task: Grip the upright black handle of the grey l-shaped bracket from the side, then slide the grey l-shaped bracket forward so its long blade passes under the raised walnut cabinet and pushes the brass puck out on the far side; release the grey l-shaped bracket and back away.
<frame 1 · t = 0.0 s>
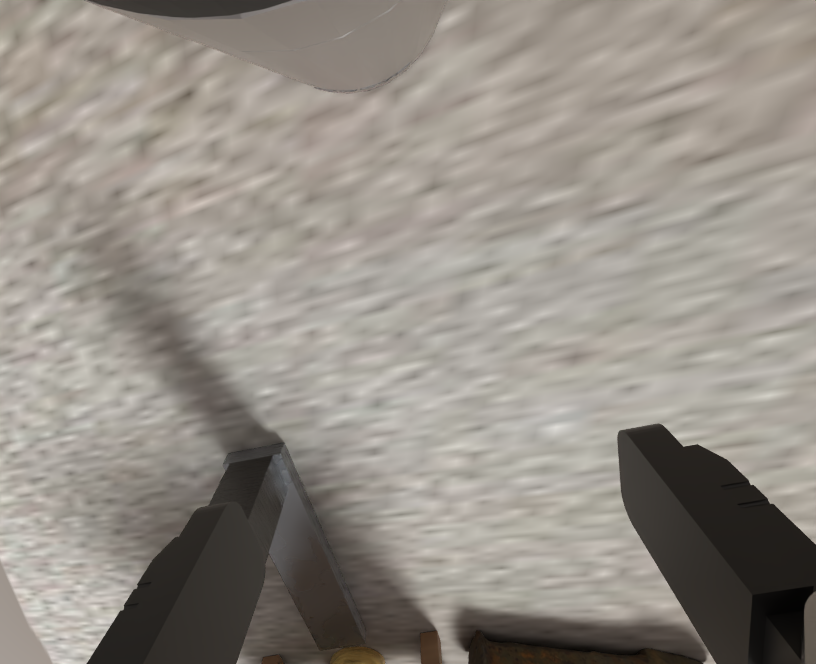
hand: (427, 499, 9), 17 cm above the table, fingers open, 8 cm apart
grey l-shaped bracket: (264, 463, 31), on the table
brass puck: (357, 661, 41), on the table
hand tool: (589, 643, 41), on the table
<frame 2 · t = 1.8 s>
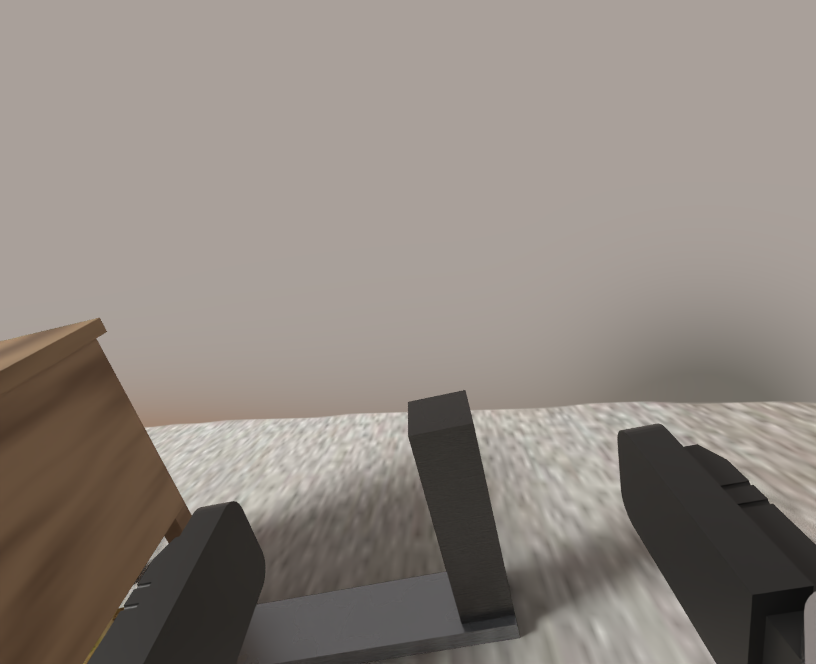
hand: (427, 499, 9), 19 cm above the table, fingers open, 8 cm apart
grey l-shaped bracket: (487, 608, 27), on the table
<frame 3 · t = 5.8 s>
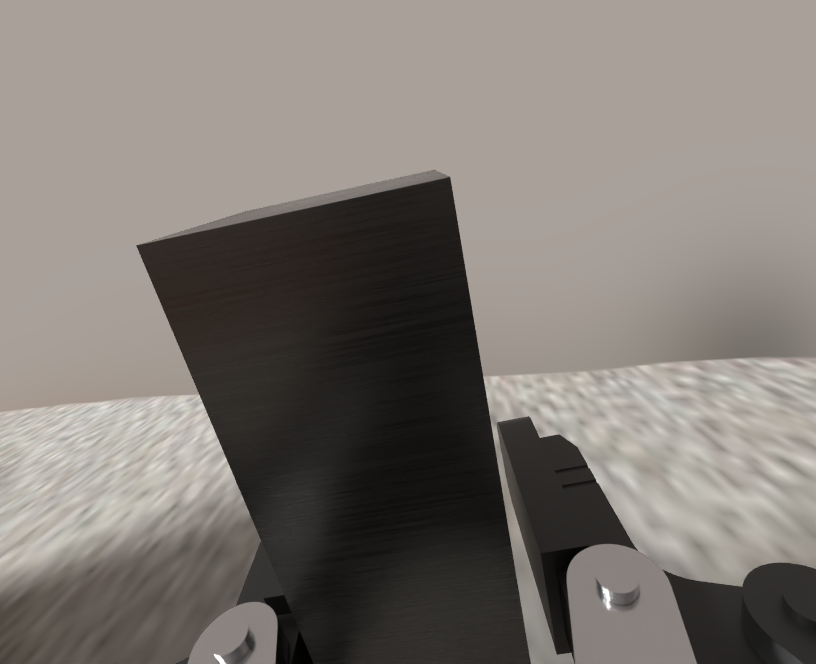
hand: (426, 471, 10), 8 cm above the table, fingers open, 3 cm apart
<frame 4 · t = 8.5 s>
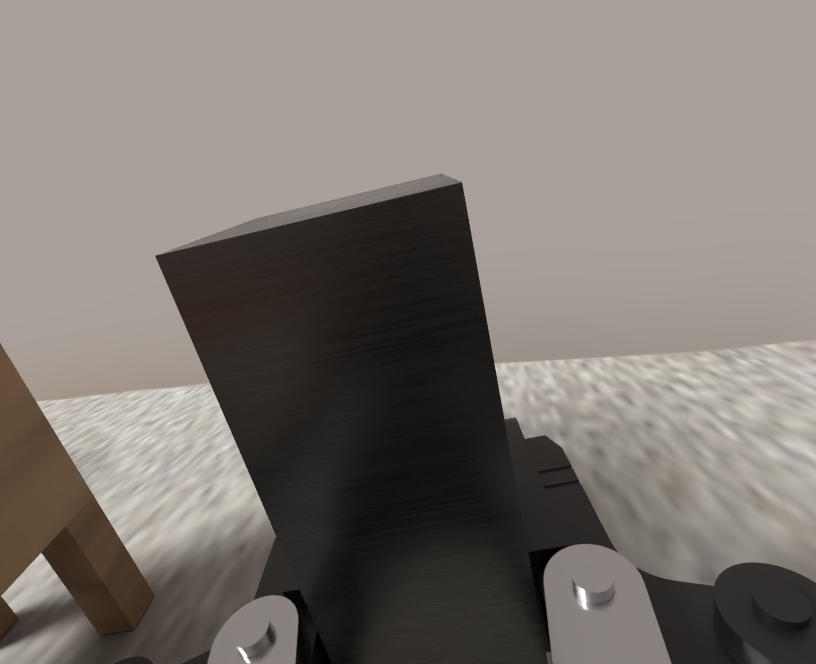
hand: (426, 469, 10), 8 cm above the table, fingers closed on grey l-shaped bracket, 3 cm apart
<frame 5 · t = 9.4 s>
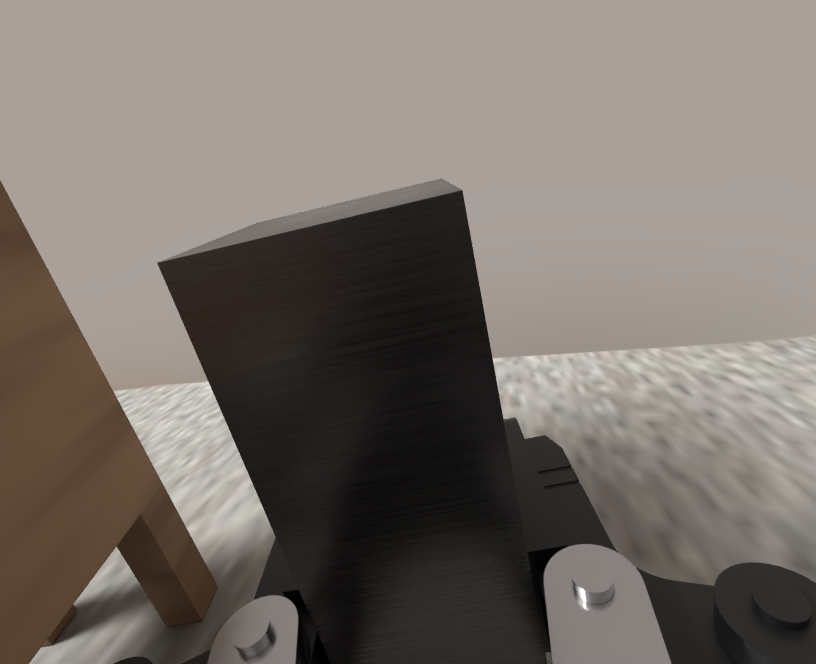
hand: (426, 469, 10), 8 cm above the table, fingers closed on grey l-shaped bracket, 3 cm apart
when the fingers open (8 cm above the table, at t = 10.5 s): grey l-shaped bracket stays where it is, on the table.
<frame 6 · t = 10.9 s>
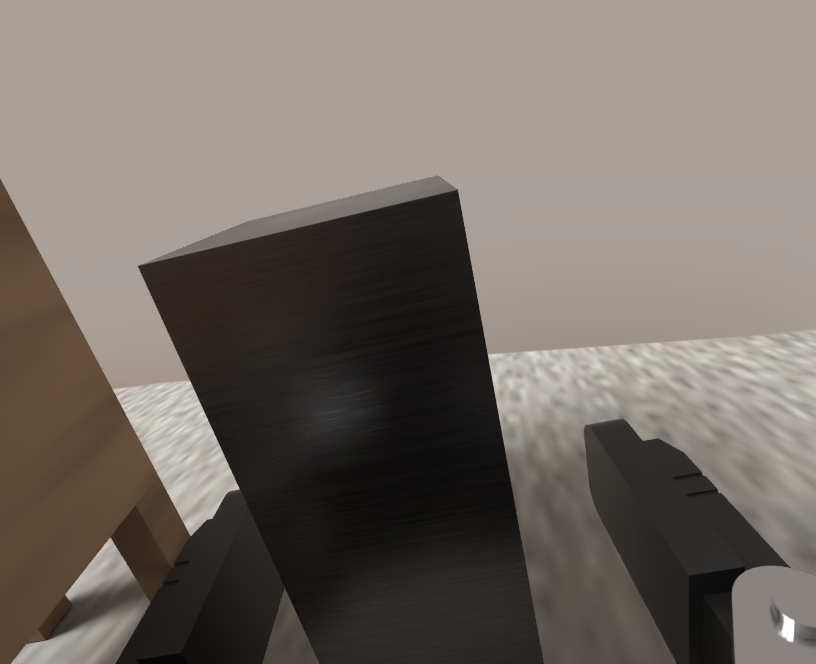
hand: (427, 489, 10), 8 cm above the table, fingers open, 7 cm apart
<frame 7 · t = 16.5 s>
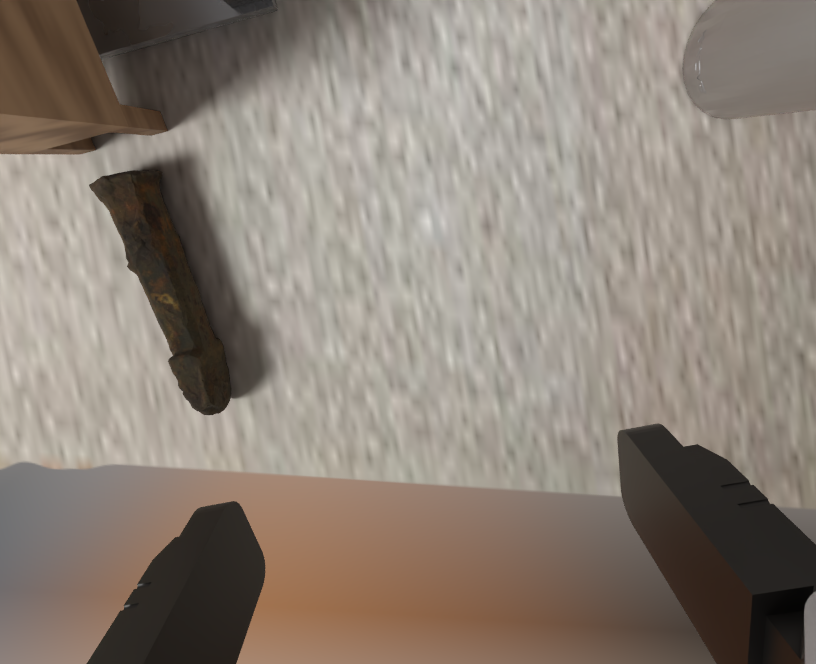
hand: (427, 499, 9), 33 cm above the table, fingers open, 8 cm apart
walnut cabinet: (76, 33, 35), on the table
hand tool: (197, 293, 43), on the table
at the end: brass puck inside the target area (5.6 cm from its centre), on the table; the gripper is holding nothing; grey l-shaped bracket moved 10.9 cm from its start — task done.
